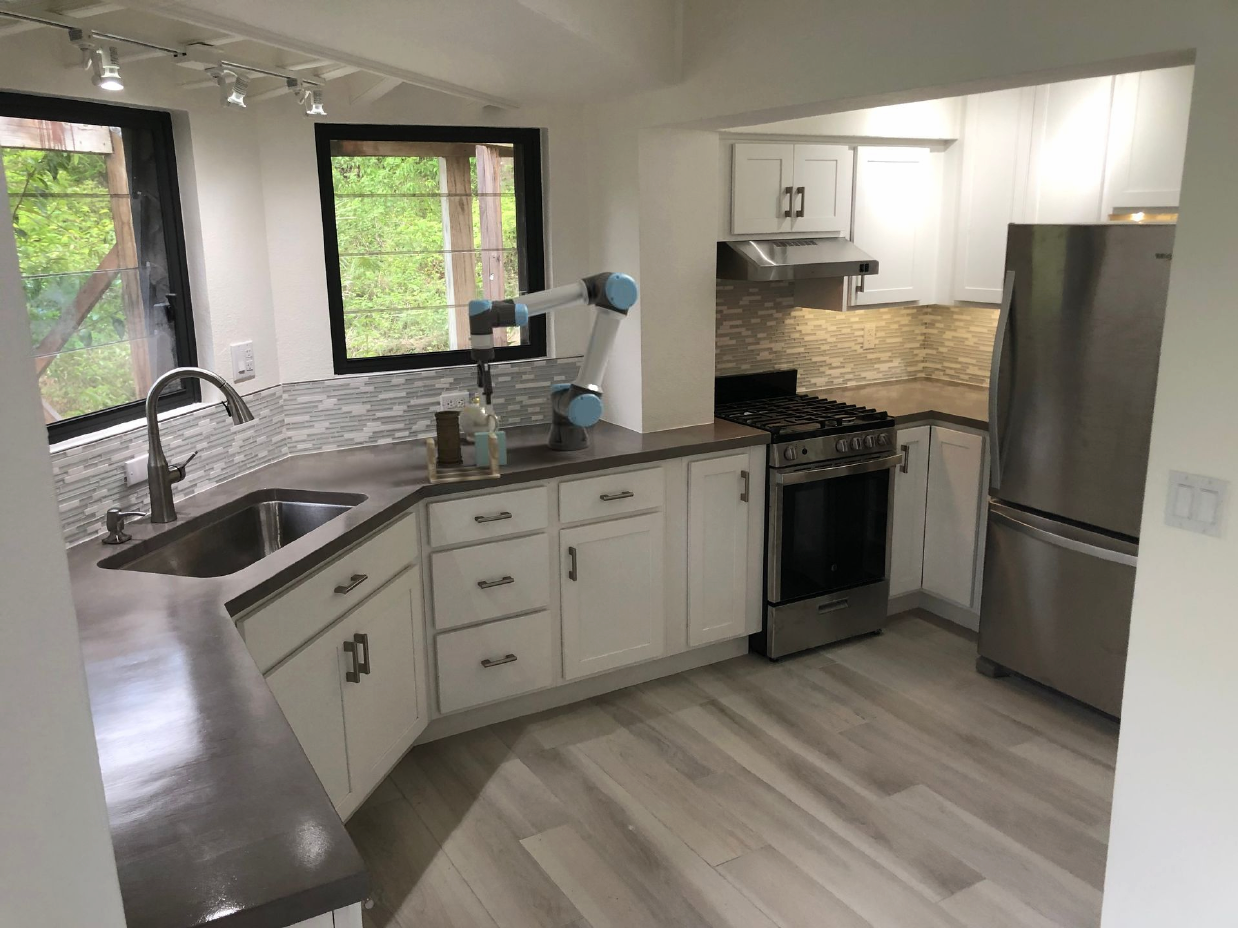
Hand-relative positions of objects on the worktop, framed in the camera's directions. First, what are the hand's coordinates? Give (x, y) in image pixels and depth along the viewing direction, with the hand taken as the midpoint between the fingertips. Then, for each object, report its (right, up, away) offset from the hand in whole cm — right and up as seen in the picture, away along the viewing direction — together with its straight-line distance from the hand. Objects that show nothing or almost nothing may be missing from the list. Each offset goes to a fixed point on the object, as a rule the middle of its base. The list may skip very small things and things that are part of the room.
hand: (486, 410), depth 325 cm
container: (-13, -18, +5) cm, 23 cm away
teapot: (-7, -10, +39) cm, 41 cm away
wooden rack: (-6, -22, -11) cm, 25 cm away
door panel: (+1, -18, +4) cm, 19 cm away
